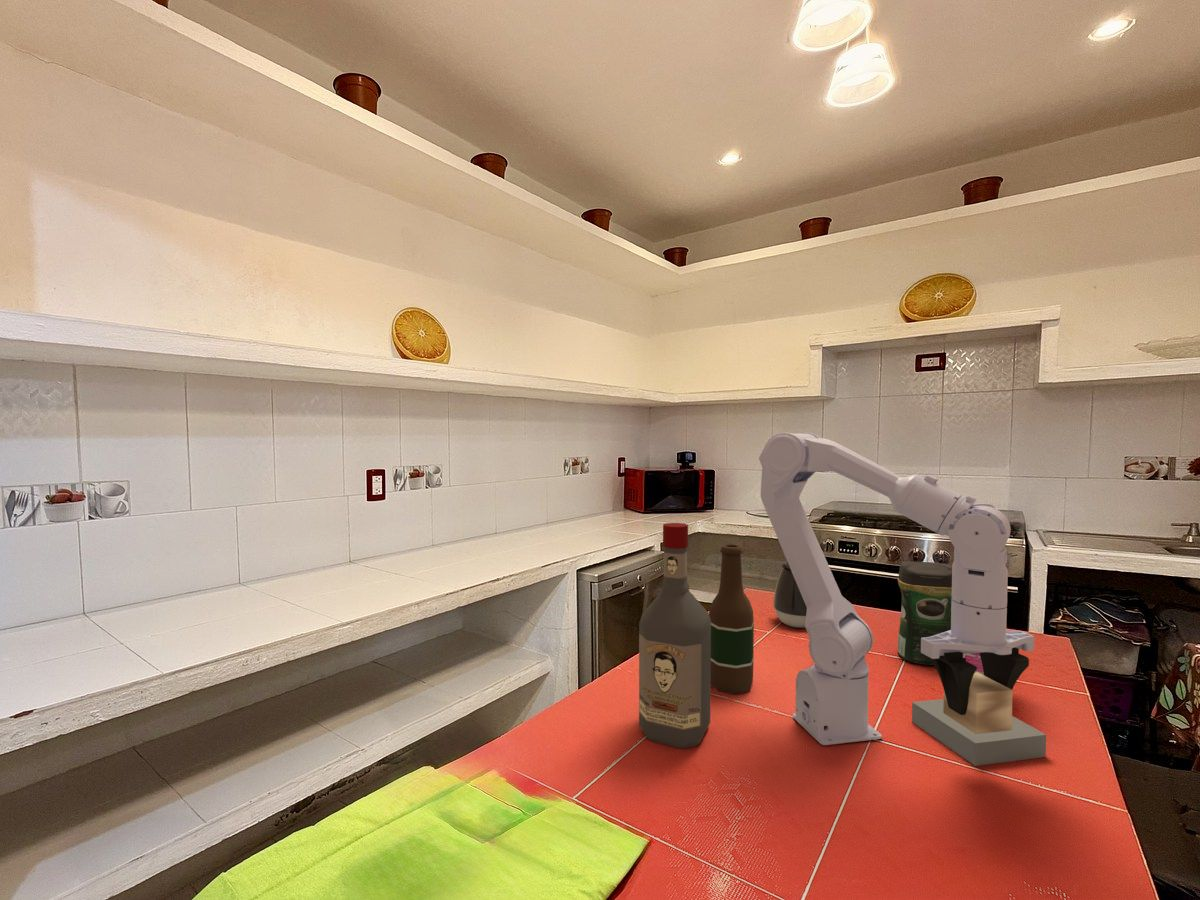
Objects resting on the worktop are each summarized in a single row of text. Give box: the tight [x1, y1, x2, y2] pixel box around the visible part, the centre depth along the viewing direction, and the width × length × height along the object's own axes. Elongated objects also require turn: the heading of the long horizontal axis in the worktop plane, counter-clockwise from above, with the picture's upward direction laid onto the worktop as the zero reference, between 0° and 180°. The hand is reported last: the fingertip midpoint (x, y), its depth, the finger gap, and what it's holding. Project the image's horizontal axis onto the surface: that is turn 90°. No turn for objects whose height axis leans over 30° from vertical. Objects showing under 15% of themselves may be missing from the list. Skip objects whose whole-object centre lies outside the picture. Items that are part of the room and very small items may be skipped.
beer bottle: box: [708, 543, 755, 695], centre depth 93 cm, size 8×8×24 cm
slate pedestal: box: [911, 698, 1047, 767], centre depth 77 cm, size 11×11×3 cm
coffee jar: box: [897, 560, 952, 666], centre depth 104 cm, size 10×8×19 cm
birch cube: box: [943, 672, 1014, 734], centre depth 69 cm, size 5×5×5 cm
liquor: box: [638, 522, 712, 749], centre depth 79 cm, size 9×9×30 cm
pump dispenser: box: [773, 561, 807, 629], centre depth 123 cm, size 10×10×15 cm
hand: (976, 708), depth 69 cm, fingers closed on birch cube, 5 cm apart
